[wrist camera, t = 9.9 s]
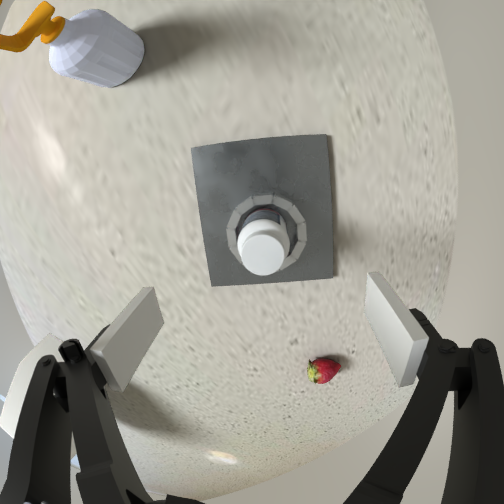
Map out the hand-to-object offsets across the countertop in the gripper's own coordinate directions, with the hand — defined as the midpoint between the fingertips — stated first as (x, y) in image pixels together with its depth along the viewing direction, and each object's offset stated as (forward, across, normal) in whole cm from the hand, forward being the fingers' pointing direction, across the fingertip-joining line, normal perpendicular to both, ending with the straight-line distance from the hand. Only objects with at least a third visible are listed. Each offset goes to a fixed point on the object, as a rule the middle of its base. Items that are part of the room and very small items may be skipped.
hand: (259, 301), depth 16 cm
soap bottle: (+19, -18, +26) cm, 37 cm away
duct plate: (+19, 0, +2) cm, 19 cm away
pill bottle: (+18, 0, 0) cm, 18 cm away
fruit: (+19, +7, -23) cm, 30 cm away
